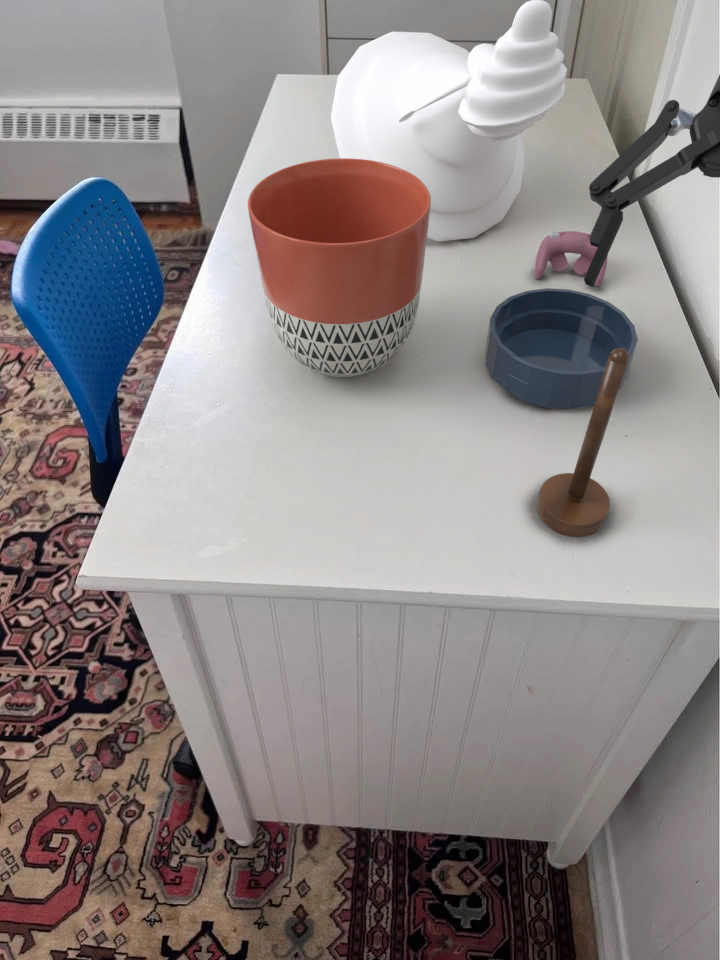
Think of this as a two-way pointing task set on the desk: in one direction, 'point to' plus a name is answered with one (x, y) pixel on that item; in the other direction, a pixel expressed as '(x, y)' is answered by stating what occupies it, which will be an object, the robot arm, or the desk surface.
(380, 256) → the planter
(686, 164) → the robot arm
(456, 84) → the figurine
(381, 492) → the desk surface
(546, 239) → the video game controller
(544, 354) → the bowl
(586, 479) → the masher
